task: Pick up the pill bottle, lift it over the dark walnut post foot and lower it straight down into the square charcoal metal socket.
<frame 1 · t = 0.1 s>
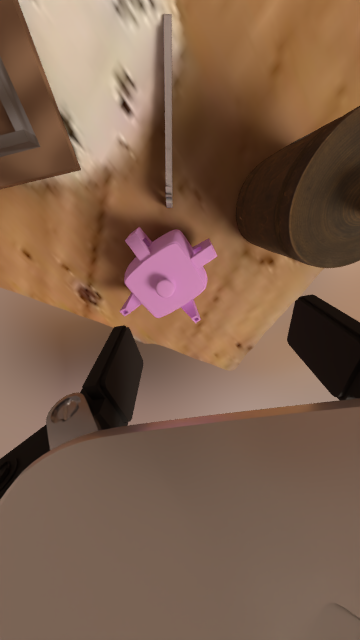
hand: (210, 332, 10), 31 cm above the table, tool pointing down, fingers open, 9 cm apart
teakettle: (167, 271, 39), on the table
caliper: (169, 132, 27), on the table
wooden container: (273, 204, 33), on the table
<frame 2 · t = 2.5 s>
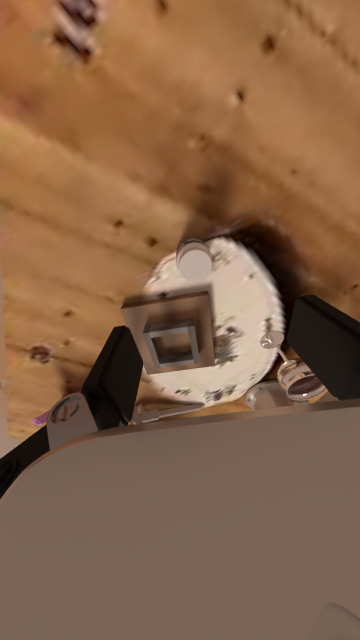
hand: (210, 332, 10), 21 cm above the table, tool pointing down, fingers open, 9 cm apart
wineglass: (271, 339, 37), on the table
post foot: (173, 336, 36), on the table
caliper: (170, 403, 50), on the table
pill bottle: (190, 252, 27), on the table
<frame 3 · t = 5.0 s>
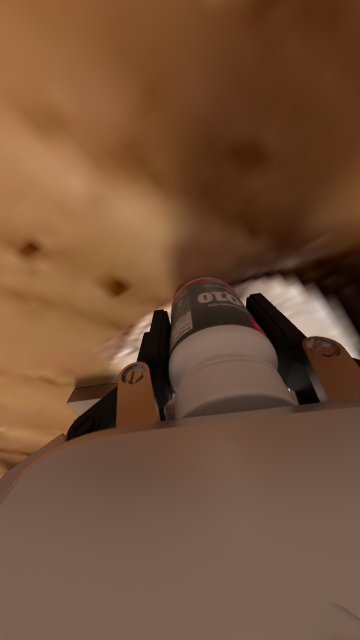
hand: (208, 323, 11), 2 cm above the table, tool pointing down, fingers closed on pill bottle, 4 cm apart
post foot: (169, 423, 21), on the table
pill bottle: (202, 305, 13), on the table, touching gripper
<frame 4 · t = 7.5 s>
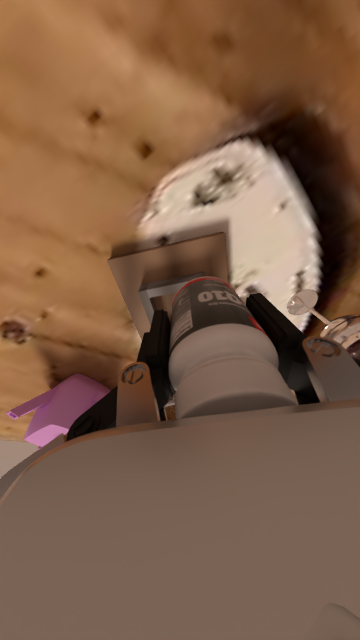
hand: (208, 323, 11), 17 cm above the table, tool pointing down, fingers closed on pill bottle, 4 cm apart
teakettle: (84, 393, 42), on the table
wineglass: (301, 302, 30), on the table
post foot: (178, 301, 28), on the table
pill bottle: (203, 305, 13), point 14 cm above the table, touching gripper
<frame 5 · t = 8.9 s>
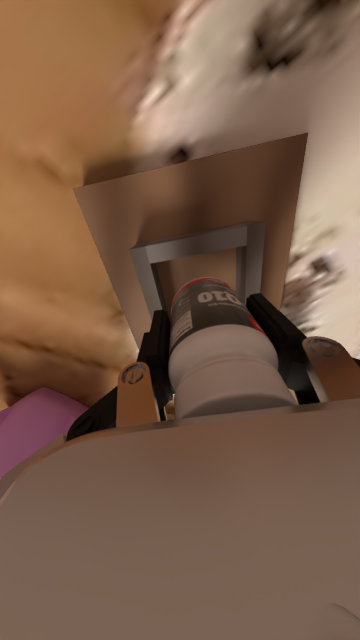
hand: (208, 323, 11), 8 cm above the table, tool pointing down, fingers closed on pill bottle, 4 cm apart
teakettle: (57, 413, 31), on the table
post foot: (197, 281, 17), on the table
pill bottle: (202, 305, 13), point 6 cm above the table, touching gripper
when the fingers open (5 cm above the table, at t = 9.9 s): pill bottle stays where it is, resting on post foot.
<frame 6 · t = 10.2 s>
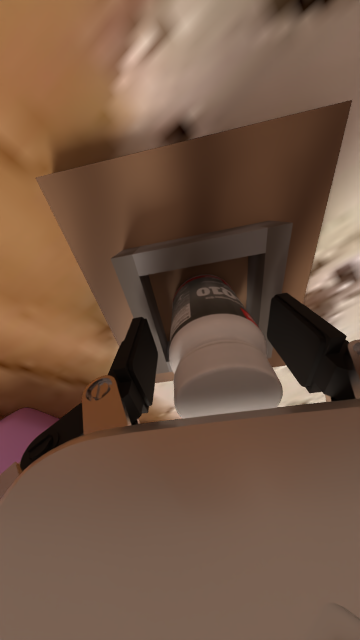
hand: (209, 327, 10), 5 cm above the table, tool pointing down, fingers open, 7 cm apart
teakettle: (43, 432, 28), on the table
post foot: (199, 293, 15), on the table
pill bottle: (202, 301, 13), point 1 cm above the table, touching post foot
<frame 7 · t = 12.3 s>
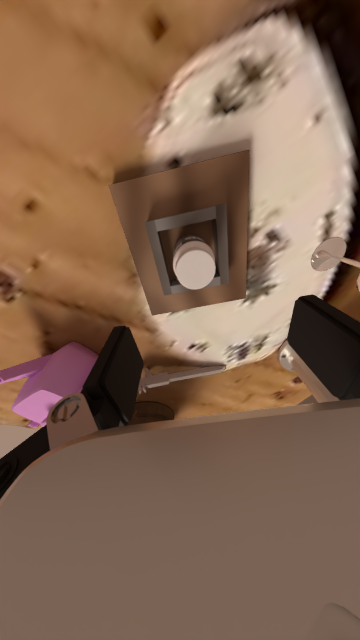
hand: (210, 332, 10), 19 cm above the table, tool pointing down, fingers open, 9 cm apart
teakettle: (81, 367, 38), on the table
wineglass: (327, 254, 26), on the table
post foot: (188, 249, 25), on the table
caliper: (181, 366, 39), on the table
wooden container: (148, 414, 50), on the table
pill bottle: (190, 252, 24), point 1 cm above the table, touching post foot
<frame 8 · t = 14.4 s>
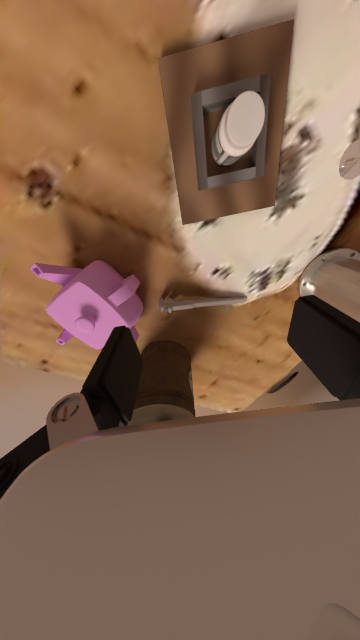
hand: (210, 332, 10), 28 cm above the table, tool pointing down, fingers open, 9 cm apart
teakettle: (105, 295, 39), on the table
wineglass: (355, 159, 27), on the table
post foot: (223, 147, 26), on the table
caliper: (203, 298, 40), on the table
wooden container: (165, 359, 51), on the table
pill bottle: (226, 146, 25), point 1 cm above the table, touching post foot
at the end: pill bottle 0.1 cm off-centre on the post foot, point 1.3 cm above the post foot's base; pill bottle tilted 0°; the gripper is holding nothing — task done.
